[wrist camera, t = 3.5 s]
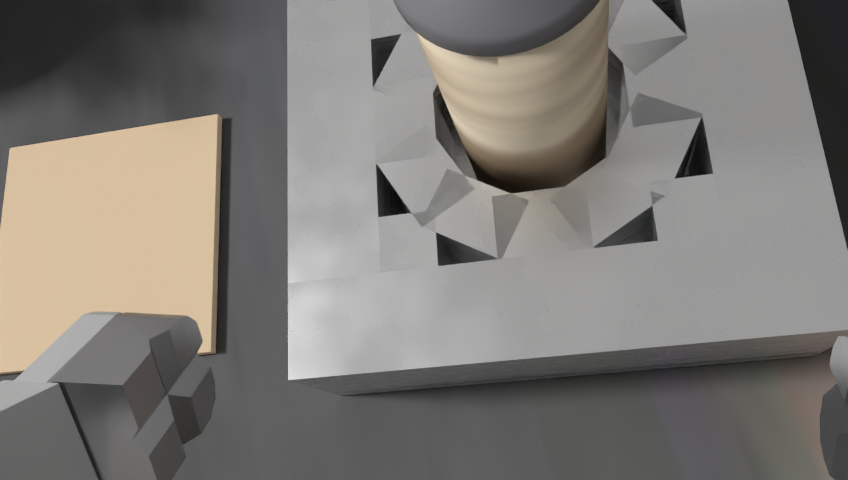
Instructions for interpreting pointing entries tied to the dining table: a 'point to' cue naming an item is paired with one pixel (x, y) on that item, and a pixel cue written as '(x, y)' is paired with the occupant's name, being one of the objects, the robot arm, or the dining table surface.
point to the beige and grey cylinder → (520, 84)
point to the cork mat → (109, 232)
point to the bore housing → (558, 210)
